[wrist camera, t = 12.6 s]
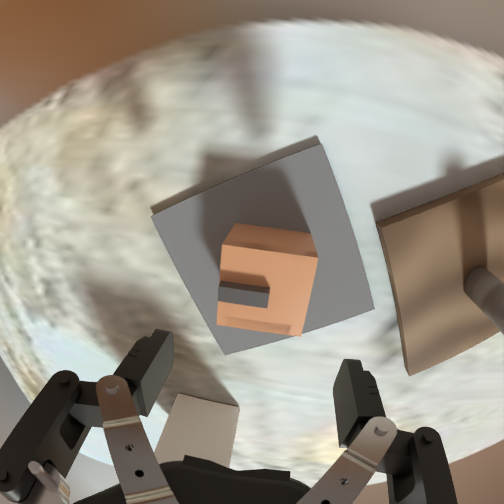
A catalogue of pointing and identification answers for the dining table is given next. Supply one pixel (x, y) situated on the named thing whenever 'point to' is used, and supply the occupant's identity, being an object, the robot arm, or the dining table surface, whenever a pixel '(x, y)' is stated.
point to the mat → (273, 216)
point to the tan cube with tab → (266, 279)
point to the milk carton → (198, 431)
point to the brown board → (447, 272)
